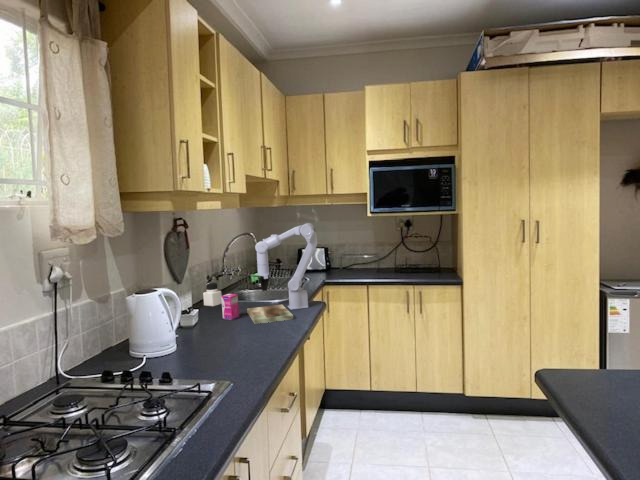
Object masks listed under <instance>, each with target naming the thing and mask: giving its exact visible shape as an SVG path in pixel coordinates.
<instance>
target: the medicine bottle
mask: <svg viewBox="0 0 640 480" xmlns="http://www.w3.org/2000/svg"><path fill="white" fill-rule="evenodd" d="M205 288H206V291H205V292H203V293H202V297H203V306H206V307H207V306H208V307H215V306H219V305H222V300H221V296H223V294H222V290H219V289H218V283H217V282H208V283H206V285H205Z"/></svg>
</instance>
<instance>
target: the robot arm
mask: <svg viewBox="0 0 640 480" xmlns="http://www.w3.org/2000/svg"><path fill="white" fill-rule="evenodd" d="M295 235H296V236H302V237H303V238H304V239H305V241H306V243H307V245H306V247H305V249H304V252H303V254H302V256H301V257H300V261H299V263H298V265H297V267H296V270H295V272H294V274H293V276H292V277H291V278H290V280H289V281H288V282H287V288H288V305H287V307H286V308H287V309H288V310H299V309H301V310H302V309H309V302H308V301H309V297H308V296H309V295H308V291H307V289H304V288H302V287H301V286H302V285H303V278H304V275H305V273H306V271H307V269H308V266H309V264H310V262H311V260H312V257H313V255H314V253H315V250H316V248H317V246H318V235H317V230H316V228H315V226H314V225H313V224H312V223H311V222H306V223H304V224H301V225H297V226H294V227H293V228H291V229H289V230H287V231H285V232H283V233H280V234H271V235H270V236H269V237H267V238H262V240H260V241H258V242H257V243H255V246H254V249H255V251H256V261H257V262H256V267H257V273H255V276H258V277H257V279H258V281H259V284H260V287H261V290H262V292H267V291H268V283H269V281H270V269H269V267H270V266H269V265H270V264H269V255H268V251H269V250H271V249H273V248H275V247H278V246H279V245H281V244H282V241H284V240H286V239H288V238H291V237H292V236H295Z"/></svg>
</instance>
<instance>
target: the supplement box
mask: <svg viewBox="0 0 640 480" xmlns="http://www.w3.org/2000/svg"><path fill="white" fill-rule="evenodd" d="M221 300H222V304H221V308H222V309H221V310H222V320H228V321H233V320H237V319H239V318H240V310H239V297H238V294H235V293H227V294H224V295H222V296H221Z"/></svg>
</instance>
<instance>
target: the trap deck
mask: <svg viewBox="0 0 640 480" xmlns="http://www.w3.org/2000/svg"><path fill="white" fill-rule="evenodd" d="M276 305H277V306H278V307H279V314H280V316H278V317H270V318H267V317H266V316H265V315H264V307H265V306H258V307H250V308H249V307H248V308H247V309H246V310H247V311H246V312H247V314H248V316H249V317H250V319H251V321H252V322H253V323H254V325H259V324H260V323H261V324H267V323H268V322H269V323H275V322H276V321H277V322H283V321H284V320H285V321H289V320H290V321H292V320H294V315H293V313H292V312H291V311H290V310H289V309H288V308H287V307H285V306H284V304H276ZM269 323H268V324H269ZM261 324H260V325H261Z"/></svg>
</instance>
